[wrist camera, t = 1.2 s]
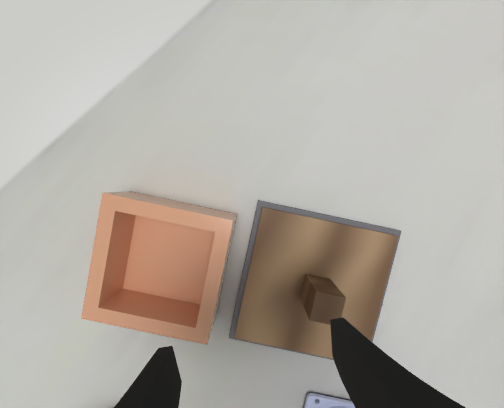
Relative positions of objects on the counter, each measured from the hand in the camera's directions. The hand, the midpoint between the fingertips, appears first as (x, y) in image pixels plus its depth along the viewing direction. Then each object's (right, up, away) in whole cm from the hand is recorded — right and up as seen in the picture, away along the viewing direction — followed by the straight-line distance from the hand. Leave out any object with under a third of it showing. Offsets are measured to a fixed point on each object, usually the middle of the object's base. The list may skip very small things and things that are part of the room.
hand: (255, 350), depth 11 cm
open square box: (-8, +2, +13) cm, 15 cm away
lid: (+6, -1, +13) cm, 14 cm away
